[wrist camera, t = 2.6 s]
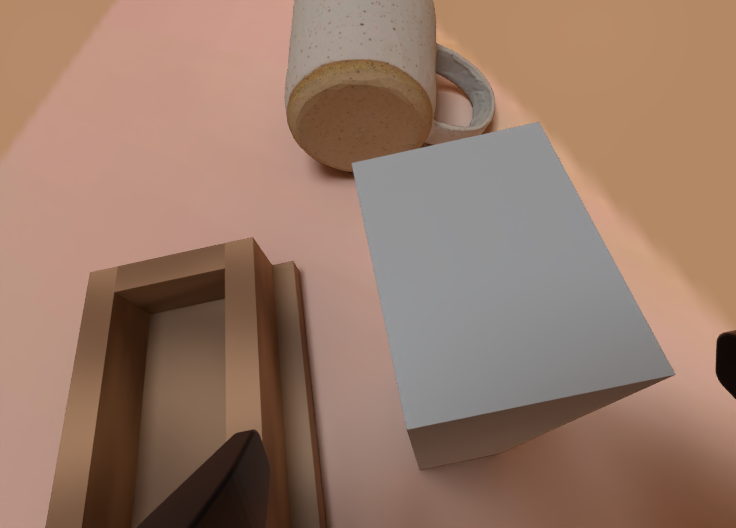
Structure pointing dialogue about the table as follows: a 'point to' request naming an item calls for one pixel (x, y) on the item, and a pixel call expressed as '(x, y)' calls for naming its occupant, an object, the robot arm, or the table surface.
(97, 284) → the open rectangular wooden box
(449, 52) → the ceramic mug
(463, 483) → the table surface
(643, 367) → the tall grey pillar block
